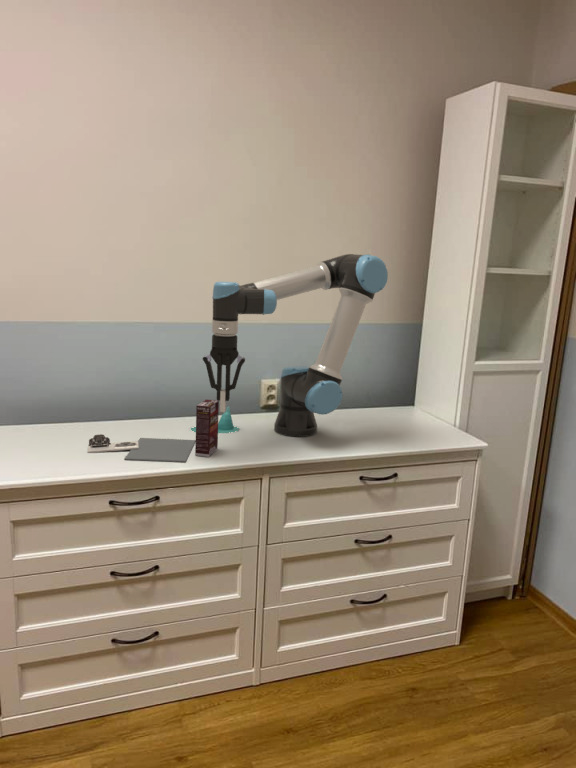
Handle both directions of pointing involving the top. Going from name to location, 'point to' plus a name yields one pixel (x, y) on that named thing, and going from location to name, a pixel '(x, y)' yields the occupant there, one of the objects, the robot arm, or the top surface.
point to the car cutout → (109, 445)
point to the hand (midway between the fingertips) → (222, 410)
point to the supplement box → (206, 428)
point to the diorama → (224, 423)
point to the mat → (161, 450)
